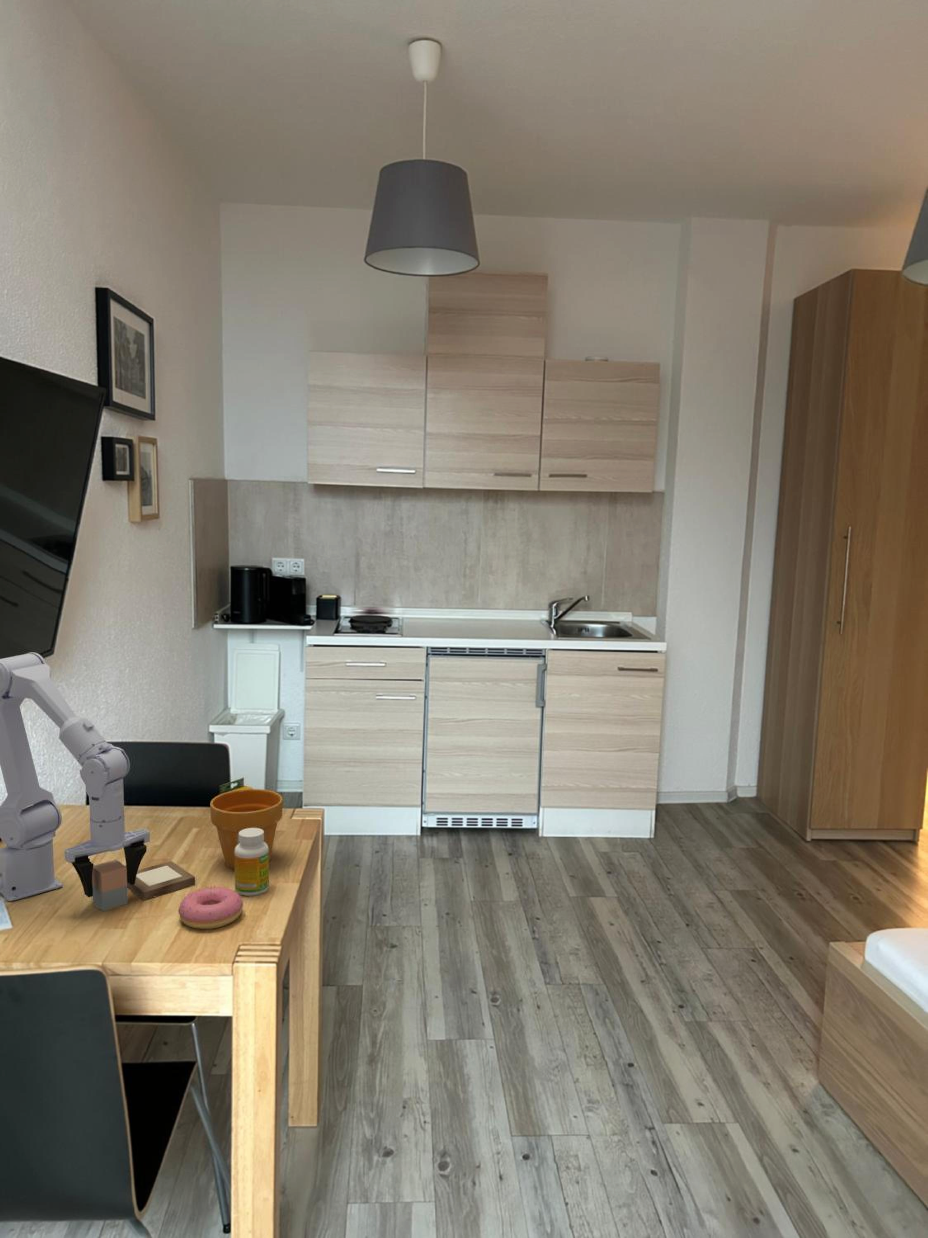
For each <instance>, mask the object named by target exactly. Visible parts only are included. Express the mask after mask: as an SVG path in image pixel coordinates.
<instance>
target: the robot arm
mask: <svg viewBox="0 0 928 1238" xmlns="http://www.w3.org/2000/svg"><path fill="white" fill-rule="evenodd" d="M51 677H52V668H51V666H50V665H49V664H48V663H46V660H45V659H44V657H43V656H42V655H41V654H39V653H37V652H32V651H31V652H27V653H24V654H20V655H14V656H9V657H4V658H0V769H1V774H2V777H3V778H2V779H3V782H4V785H5V790H6V793H7V795H6V797H5V799H4V800H3V802H2V803H1V805H0V839H1V841H2V843H3V844H5V846H3V847H2V848H0V894H1V895H2V896H3V897H4V898H5V899H6V901H8V902H13V901H17V900H19V899H23V898H27V897H30V896H31V897H32V896H35V895H38V894H41V893H46V892H49V891H53V890H56V889H59V888H62V887H63V883H62V882H61V881H59V879H57V877H55V863H54V861H55V858H54V839H53V838H54V837H56V835H57V833H56V831H57V830H58V829H59V828H60V826H61V824H62V822H63V817H62V812H61V810H60V807H59V806H58V805H57V803H56V801H55V799H54V796H53V793H52V792H51V791H49V790H47V789H44V788H43V787H41V786H40V782H39V779H38V776H37V772H36V771H37V770H36V766H35V763H34V759H33V755H32V752H31V748H30V747H31V746H30V743H29V740H28V739H29V738H28V736H27V735H28V734H27V731H26V725H25V723H24V719H23V714H22V711H21V705H22V704H23V702H24V700H25V699H30V700H32V701H33V703H35V704H36V705H37V706H38V707H39V708H40V710H42V712H43V713H45V715H46V716H47V717H48V718H49V719H50V720H51V721H52V722H53V723H54V724H55V725H56V726H57V727H58V728H59V734H58V735H59V736H58V739H59V740H60V742H61V743H62V744H63V746H64V747H65V748H66V749H67V750H68V752H70V754H71V755H72V757H73V758H74V759H75V760H76V761H77V763H78V764H79V765H80V767H81V769H79V774H80V777H81V779H82V782H83V784H84V786H85V791H86V792H85V793H87V796H88V803H89V823H90V824H89V826H90V827H89V829H90V831H89V833H90V839H88V840H87V841H84V842H82V843H79V844H77V845H75V846H72V847H69V848H68V847H67V848H64V860H65V861H66V862H68V863H69V864H71V865H72V867H73V868H74V870H75V872H76V873H77V875H78V878H79V880H80V883H81V885H82V890H83V892H84V896H86V897H88V898H93V885H92V873H93V866H94V865H95V864H94V863H93V862H92V861H91V858H89V857H92V856H96V855H99V854H103V853H106V852H116V851H119V850H122V849H123V851H124V852H123V853H124V858H125V866H126V868H127V882H128V883H130V884H131V885H133V884H135V880H136V875H137V872H138V870H139V868H140V865H141V862H142V860H143V858H144V856H145V854H146V853H147V851H148V850H147V849H148V848H147V847H148V846H147V845H146V843H150V841H151V839H150V838H151V836H150V834H151V833H150V831H148V829H145V828H144V829H138V830H132V831H126V827H125V826H126V825H125V824H126V823H125V822H126V821H125V800H124V798H125V797H124V795H125V794H124V777H126V776H127V775H128V773H129V771H130V768H131V763H130V759H129V756H128V755H127V753H126V752H125V750H124V748H123V749H122V748H121V747H119V746H115V745H113V744H112V743H108V742H107V741H106V739H105V738H104V737H103V736H102V735H101V733H100V732H99V731H98V730H97V728H95V725H94V724H93V722H92V721H91V720H89V719H88V718H86V717H78V716H77V715H76V713H75V712H74V710H73V709H72V708H71V706H70V704H69V703H68V702H67V700H66V699H65V697H64V696H63V695H62V693H61V691H60V690H59V689H58V687H57V686H56V685H55V683H54V681H53V680H52V679H51Z"/></svg>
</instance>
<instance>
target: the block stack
mask: <svg viewBox="0 0 928 1238" xmlns="http://www.w3.org/2000/svg"><path fill="white" fill-rule="evenodd" d="M92 885H93V897H92V904H93V905H95V906H96V907H97V908H98V909H100V910H101V911H102V912H105V911H109V910H111V909H115V908H119V907H122V906H125V905H127V903H128V901H129V900H128V887H127V868H126V865H124V864H123V863H122V862H120V860H118V859H112V860H109V861H105V862H102V863H98V864H94V866H93V873H92ZM121 905H122V906H121Z"/></svg>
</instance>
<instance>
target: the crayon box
mask: <svg viewBox="0 0 928 1238" xmlns="http://www.w3.org/2000/svg"><path fill="white" fill-rule="evenodd" d="M233 784H236V785H234V786H233V787H229V788H228V786H231V785H233ZM243 789H254V788H253V787H252V786H247V785H245V778H244V777H241V778H239V779H236V780H232V781H230V782H227V783H223V784H221V785H219V795H220V794H223V793H226V792H230V791H235V790H243Z"/></svg>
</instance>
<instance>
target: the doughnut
mask: <svg viewBox="0 0 928 1238" xmlns="http://www.w3.org/2000/svg"><path fill="white" fill-rule="evenodd" d="M243 905H244V903H243V899H242V896H241V895H240V894H238V892H236V890H235V889H231V888H228V887H225V886H224V887H223V886H216V885H215V886H214V887H213V886H211V887H207V886H206V887H205V888H200V889H196V890H194V891H192V892H190V893H188V894H187V895H186V896H184V898H182V900H181V902H180V903H179V906H178V910H177V912H178V915H179V917H180V920H181V921H182V923H184V924H185V925H186V926H188V927H190V928H194V929H199V930H210V929H211V930H212V929H216V928H221V927H225V926H227V925H229V924H231V923H232V922H234V921H235V920H237V919H238V917H239V916H240V915H241V914H242V909H243Z"/></svg>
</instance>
